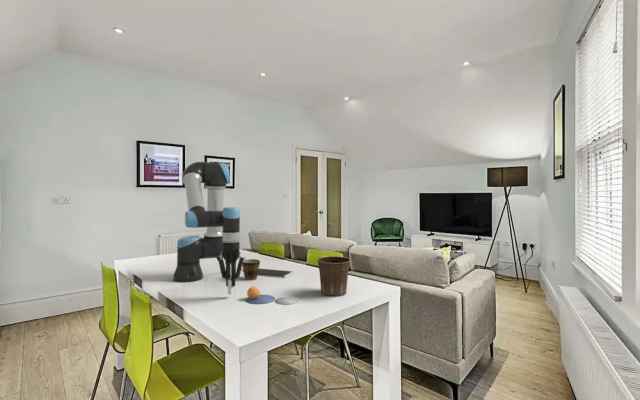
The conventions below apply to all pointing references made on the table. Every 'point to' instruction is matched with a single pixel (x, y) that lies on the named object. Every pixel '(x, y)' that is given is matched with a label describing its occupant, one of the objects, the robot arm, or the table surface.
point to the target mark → (261, 299)
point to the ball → (253, 292)
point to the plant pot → (333, 275)
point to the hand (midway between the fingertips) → (230, 293)
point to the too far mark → (286, 300)
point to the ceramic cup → (250, 268)
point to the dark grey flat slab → (274, 273)
